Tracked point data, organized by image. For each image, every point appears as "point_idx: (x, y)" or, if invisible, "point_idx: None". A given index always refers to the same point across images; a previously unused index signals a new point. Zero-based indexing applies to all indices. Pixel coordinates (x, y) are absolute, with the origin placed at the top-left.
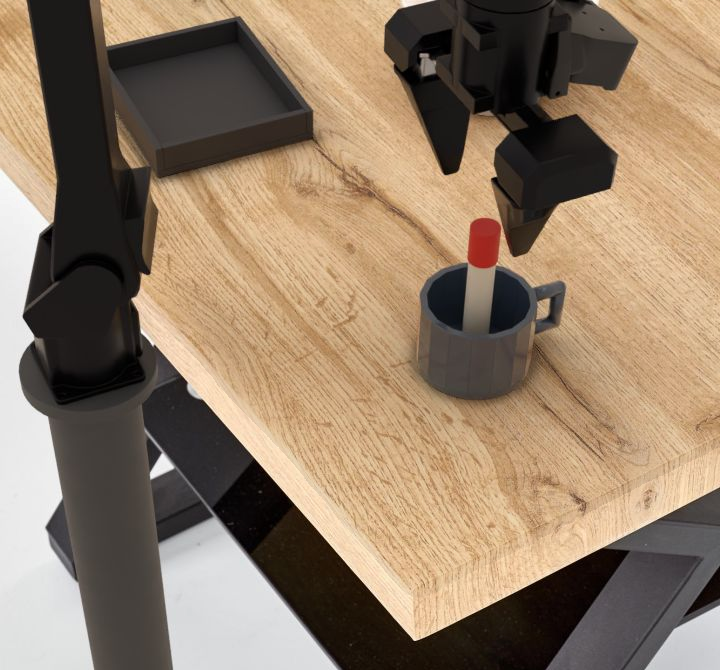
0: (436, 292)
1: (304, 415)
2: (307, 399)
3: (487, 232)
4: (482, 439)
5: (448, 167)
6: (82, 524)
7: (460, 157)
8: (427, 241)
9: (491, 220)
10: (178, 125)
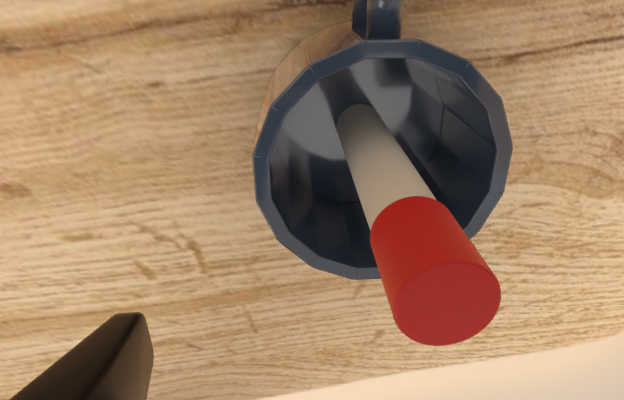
0: (285, 205)
1: (352, 349)
2: (327, 339)
3: (474, 310)
4: (509, 180)
5: (142, 375)
6: None
7: (117, 359)
8: (8, 51)
9: (427, 277)
10: None
